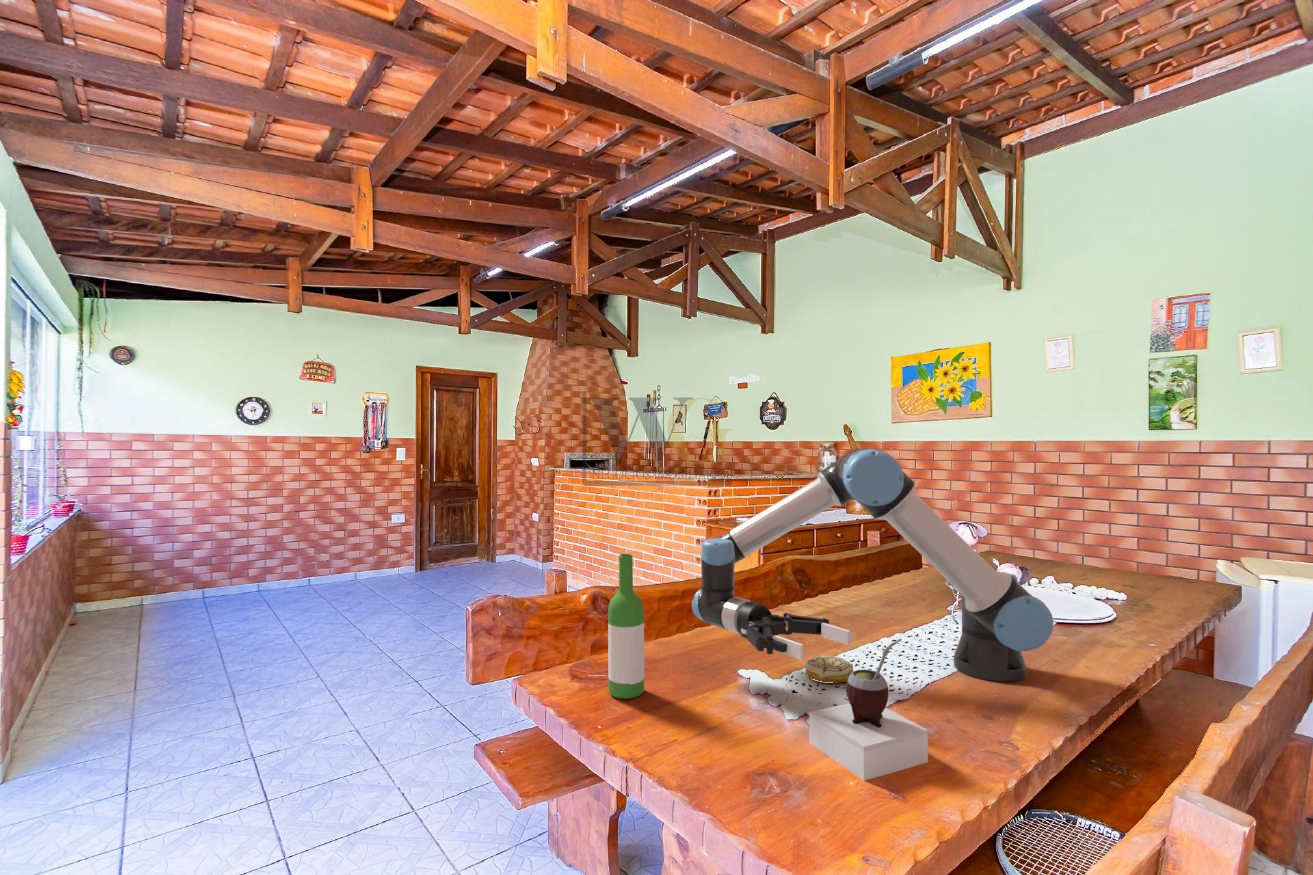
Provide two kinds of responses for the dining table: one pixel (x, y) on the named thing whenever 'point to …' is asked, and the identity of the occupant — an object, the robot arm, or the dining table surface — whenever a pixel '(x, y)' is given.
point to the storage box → (868, 741)
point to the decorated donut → (828, 669)
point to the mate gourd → (868, 693)
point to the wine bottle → (626, 636)
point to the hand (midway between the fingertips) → (826, 644)
